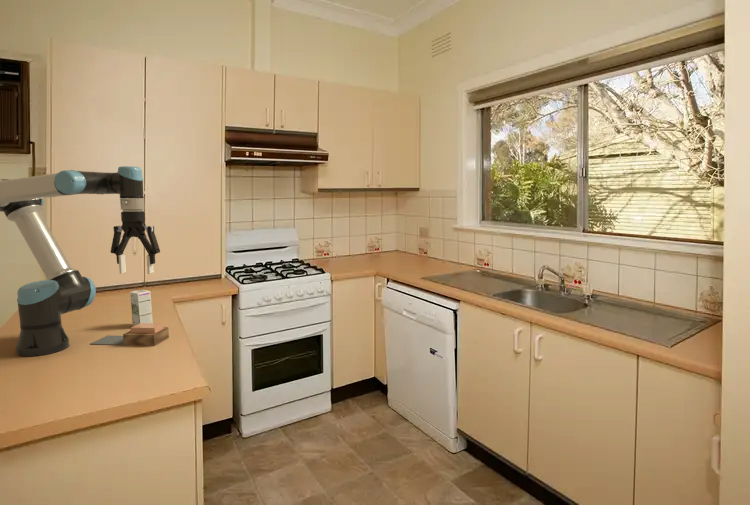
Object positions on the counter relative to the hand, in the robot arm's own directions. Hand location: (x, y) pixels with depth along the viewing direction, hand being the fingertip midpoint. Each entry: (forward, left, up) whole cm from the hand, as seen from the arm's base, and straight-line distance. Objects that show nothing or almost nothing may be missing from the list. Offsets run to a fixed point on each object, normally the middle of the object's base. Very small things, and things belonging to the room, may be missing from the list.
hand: (136, 273), depth 168 cm
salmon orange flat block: (+1, +2, -22) cm, 22 cm away
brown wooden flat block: (+1, +2, -26) cm, 26 cm away
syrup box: (-21, +12, -26) cm, 35 cm away
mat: (-9, -5, -26) cm, 28 cm away
